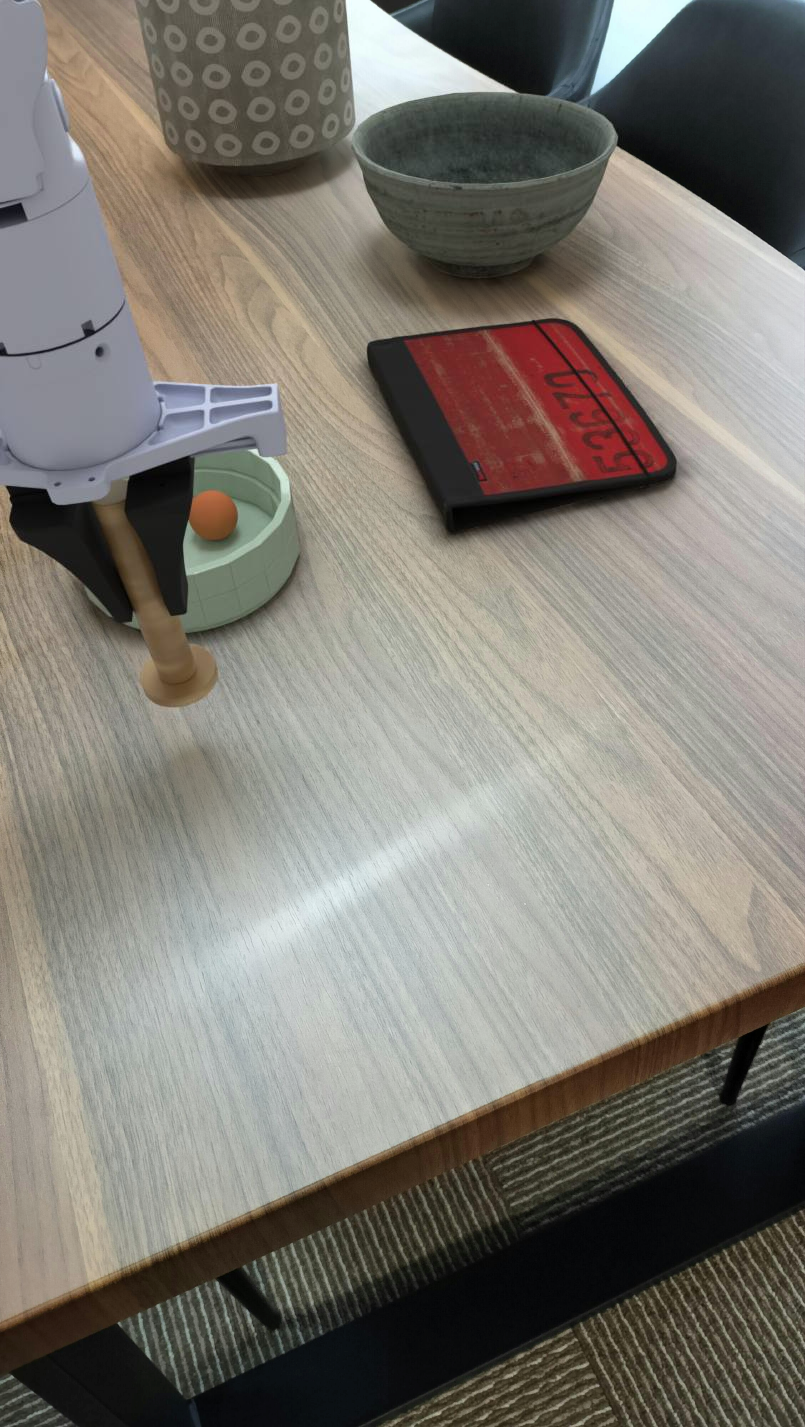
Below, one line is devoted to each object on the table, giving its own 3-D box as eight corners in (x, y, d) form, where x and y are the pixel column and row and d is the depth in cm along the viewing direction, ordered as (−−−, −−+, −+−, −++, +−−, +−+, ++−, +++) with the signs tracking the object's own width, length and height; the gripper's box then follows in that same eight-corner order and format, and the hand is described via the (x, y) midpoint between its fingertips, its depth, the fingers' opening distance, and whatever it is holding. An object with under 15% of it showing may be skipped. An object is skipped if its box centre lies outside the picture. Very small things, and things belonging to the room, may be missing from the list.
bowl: (318, 293, 85) (303, 165, 77) (422, 191, 97) (417, 71, 89) (558, 335, 78) (566, 199, 71) (637, 220, 90) (651, 94, 83)
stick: (140, 712, 48) (60, 526, 39) (145, 657, 50) (71, 470, 42) (217, 702, 48) (153, 513, 39) (219, 647, 50) (159, 458, 42)
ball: (193, 553, 63) (182, 513, 60) (194, 522, 65) (183, 483, 62) (242, 547, 63) (233, 507, 60) (241, 517, 65) (232, 477, 62)
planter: (397, 150, 104) (384, -72, 90) (255, 216, 95) (218, -17, 82) (272, 111, 113) (244, -95, 99) (133, 168, 104) (81, -48, 91)
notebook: (446, 505, 61) (364, 338, 75) (446, 537, 63) (365, 367, 77) (693, 461, 64) (570, 307, 78) (686, 493, 66) (566, 336, 79)
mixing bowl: (75, 650, 58) (50, 591, 55) (94, 508, 67) (74, 450, 64) (305, 622, 59) (295, 562, 56) (295, 485, 68) (285, 425, 64)
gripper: (-203, 406, 32) (-27, 693, 42) (255, 342, 32) (320, 645, 42) (-147, 297, 37) (-1, 580, 47) (253, 241, 37) (312, 536, 47)
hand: (152, 603), depth 45 cm, fingers closed on stick, 2 cm apart
